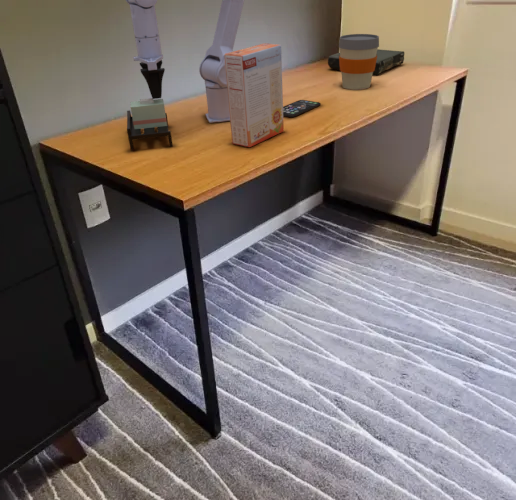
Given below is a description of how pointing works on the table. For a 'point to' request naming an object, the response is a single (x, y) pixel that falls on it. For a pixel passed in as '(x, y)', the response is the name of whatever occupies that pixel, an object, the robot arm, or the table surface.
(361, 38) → the reusable coffee cup
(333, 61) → the network switch
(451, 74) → the table surface
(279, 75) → the cracker box
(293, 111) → the smartphone
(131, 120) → the rack
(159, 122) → the tissue box
